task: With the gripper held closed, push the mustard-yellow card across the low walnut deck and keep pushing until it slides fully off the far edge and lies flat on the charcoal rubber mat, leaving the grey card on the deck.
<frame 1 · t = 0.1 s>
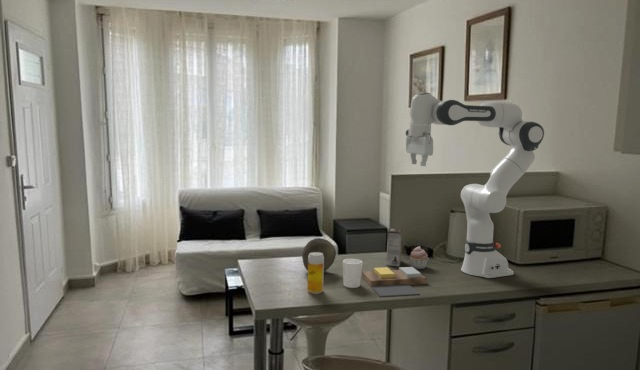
hand: (418, 165, 201), 48 cm above the counter, tool pointing down, fingers open, 8 cm apart
cupcake: (418, 267, 218), on the counter
card mustard: (384, 274, 199), point 2 cm above the counter, touching deck
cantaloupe: (318, 273, 207), on the counter
white cup: (351, 285, 192), on the counter
card grey: (409, 274, 200), point 2 cm above the counter, touching deck
pill bottle: (315, 292, 184), on the counter
mat: (394, 290, 186), on the counter
deck: (393, 280, 199), on the counter
coffee box: (393, 263, 224), on the counter
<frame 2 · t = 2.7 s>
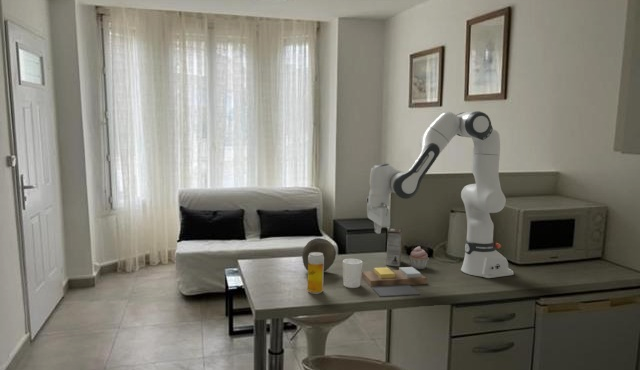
hand: (377, 232, 206), 18 cm above the counter, tool pointing down, fingers closed
nothing on the counter moved.
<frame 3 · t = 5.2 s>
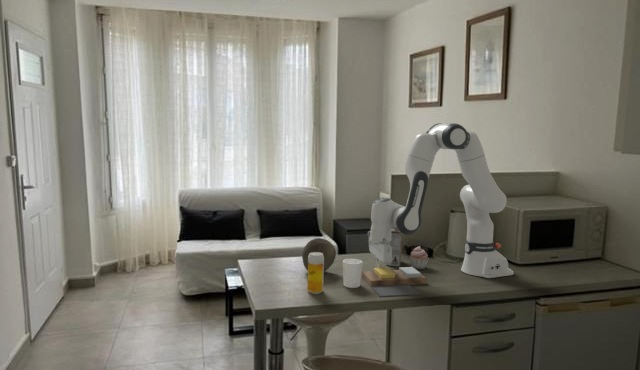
hand: (379, 267, 204), 4 cm above the counter, tool pointing down, fingers closed
card mustard: (384, 274, 198), point 2 cm above the counter, touching deck, gripper
everything else where it was.
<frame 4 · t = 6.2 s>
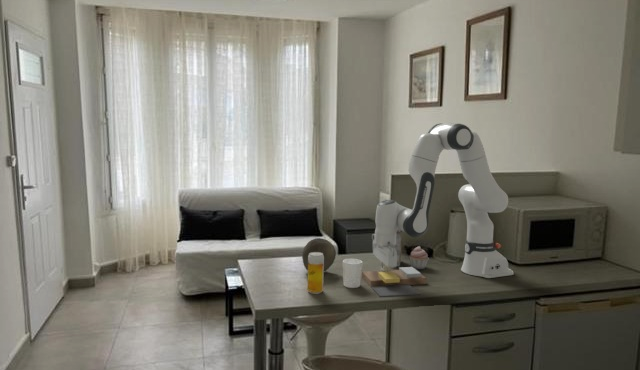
hand: (384, 271, 198), 4 cm above the counter, tool pointing down, fingers closed
card mustard: (388, 279, 193), point 3 cm above the counter, touching gripper
everything else where it was.
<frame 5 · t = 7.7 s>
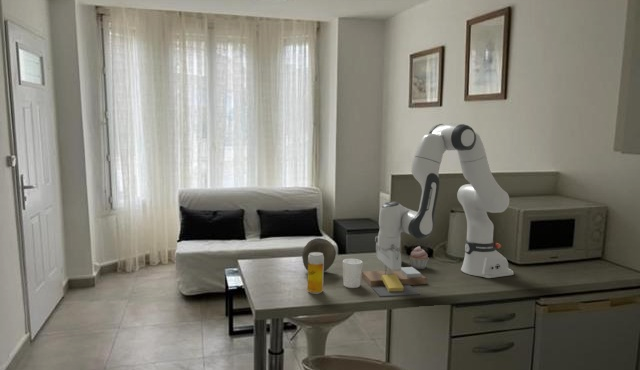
hand: (387, 275, 194), 4 cm above the counter, tool pointing down, fingers closed
card mustard: (392, 284, 189), point 2 cm above the counter, tilted 16°
everything else where it was.
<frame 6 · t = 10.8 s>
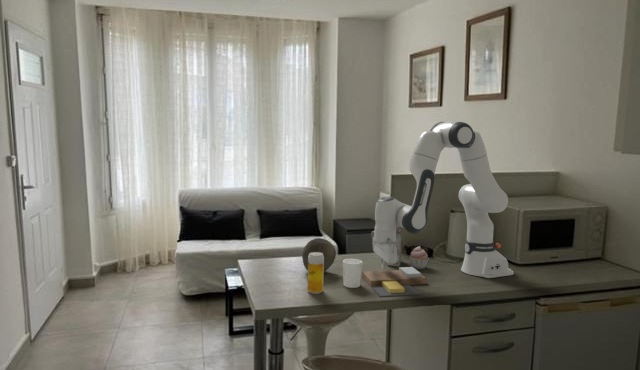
hand: (384, 268, 200), 5 cm above the counter, tool pointing down, fingers closed
card mustard: (392, 288, 188), resting on mat
everything else where it was.
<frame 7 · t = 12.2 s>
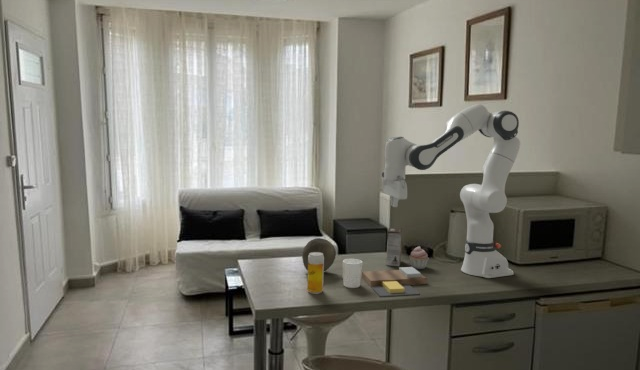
hand: (394, 206, 206), 29 cm above the counter, tool pointing down, fingers closed
nothing on the counter moved.
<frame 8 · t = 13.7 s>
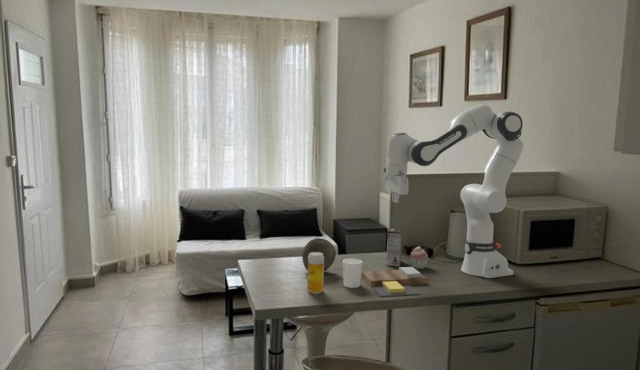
hand: (395, 202, 207), 31 cm above the counter, tool pointing down, fingers closed
nothing on the counter moved.
at the end: card mustard resting on mat; card mustard inside the target area (1.4 cm from its centre), resting on mat; card grey moved 0.1 cm from its start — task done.
